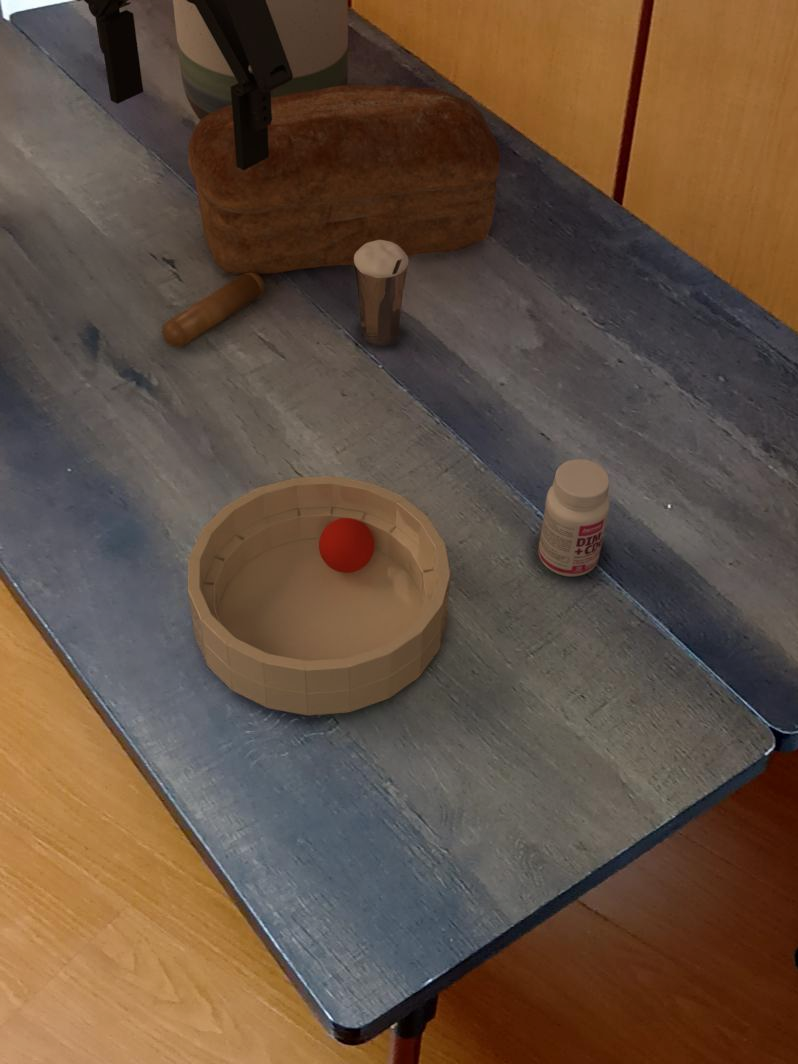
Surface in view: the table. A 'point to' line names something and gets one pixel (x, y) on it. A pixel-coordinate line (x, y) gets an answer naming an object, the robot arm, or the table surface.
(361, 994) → the table surface
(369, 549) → the red ball
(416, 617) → the bowl
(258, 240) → the bread
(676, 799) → the table surface
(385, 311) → the milkshake
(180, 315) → the sausage
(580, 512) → the pill bottle
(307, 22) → the vase
